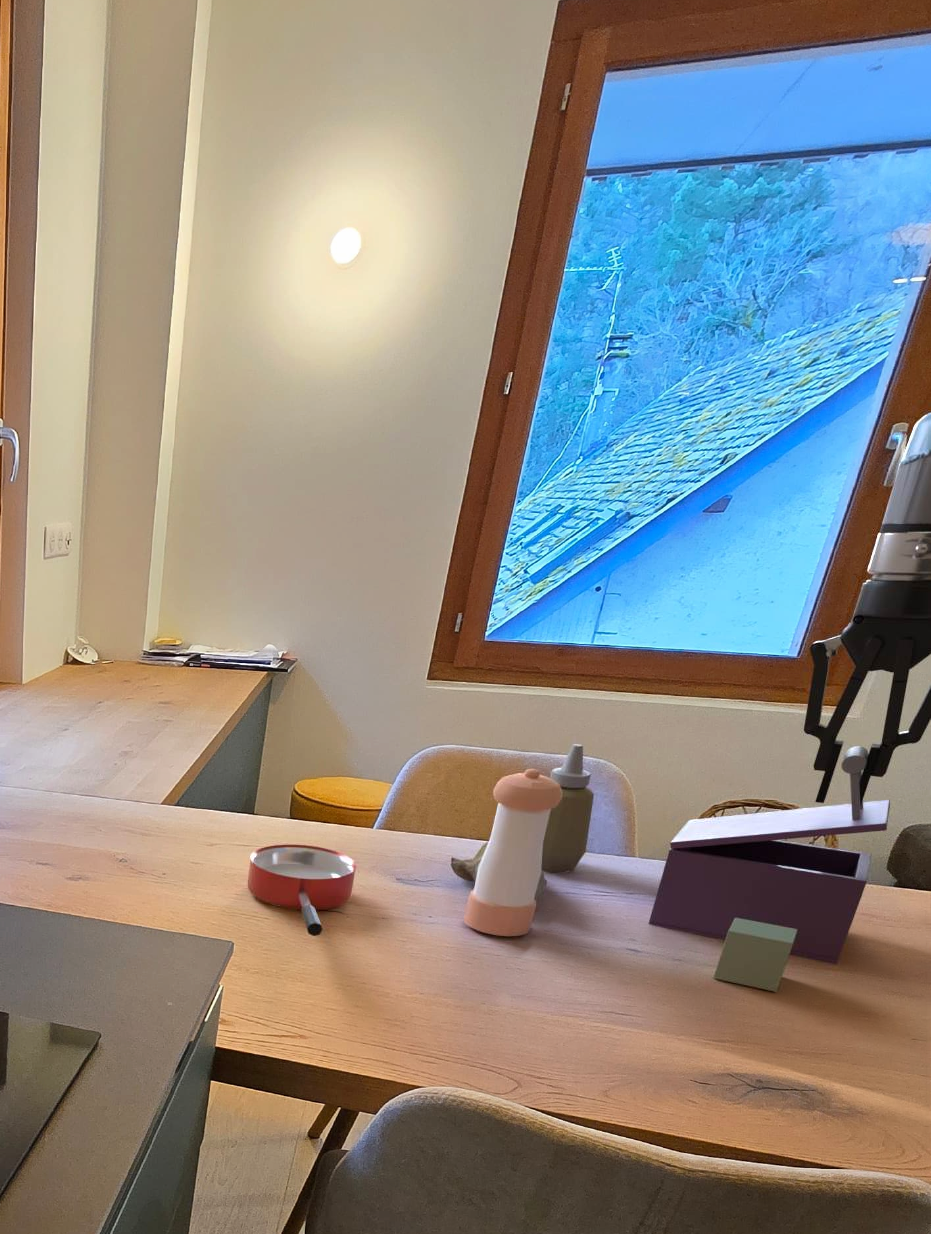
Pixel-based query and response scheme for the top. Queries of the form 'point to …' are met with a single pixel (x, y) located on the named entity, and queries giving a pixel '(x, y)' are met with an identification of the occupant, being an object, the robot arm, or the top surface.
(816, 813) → the lid
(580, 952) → the top surface
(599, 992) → the top surface
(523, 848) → the salt shaker
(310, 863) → the frying pan
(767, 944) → the block
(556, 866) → the squeeze bottle
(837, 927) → the box
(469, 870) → the ceramic sculpture
